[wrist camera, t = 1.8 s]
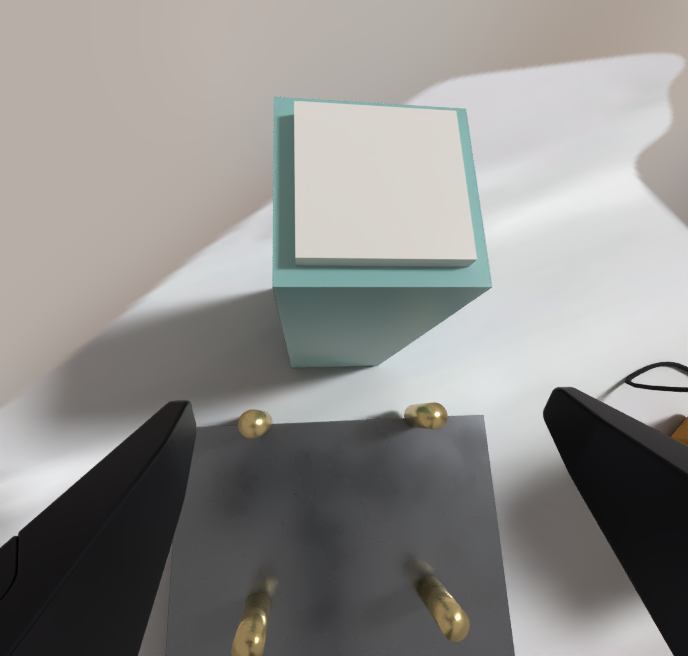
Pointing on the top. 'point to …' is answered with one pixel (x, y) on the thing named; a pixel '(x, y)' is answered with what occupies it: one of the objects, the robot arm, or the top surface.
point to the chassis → (340, 540)
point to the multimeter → (684, 433)
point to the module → (371, 227)
